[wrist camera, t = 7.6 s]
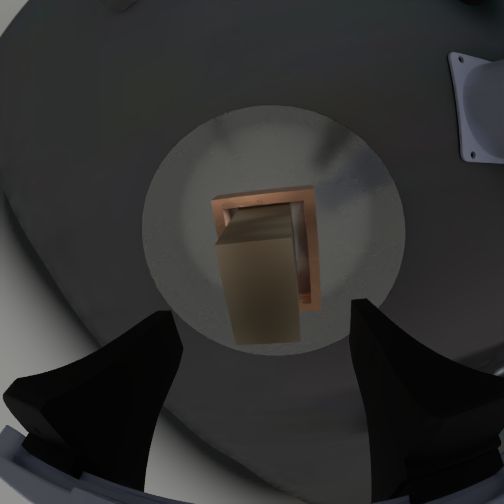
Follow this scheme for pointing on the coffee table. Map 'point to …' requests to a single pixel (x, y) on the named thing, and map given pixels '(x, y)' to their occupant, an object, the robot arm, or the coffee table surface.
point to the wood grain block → (260, 274)
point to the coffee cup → (474, 1)
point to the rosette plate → (269, 192)
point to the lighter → (119, 4)
